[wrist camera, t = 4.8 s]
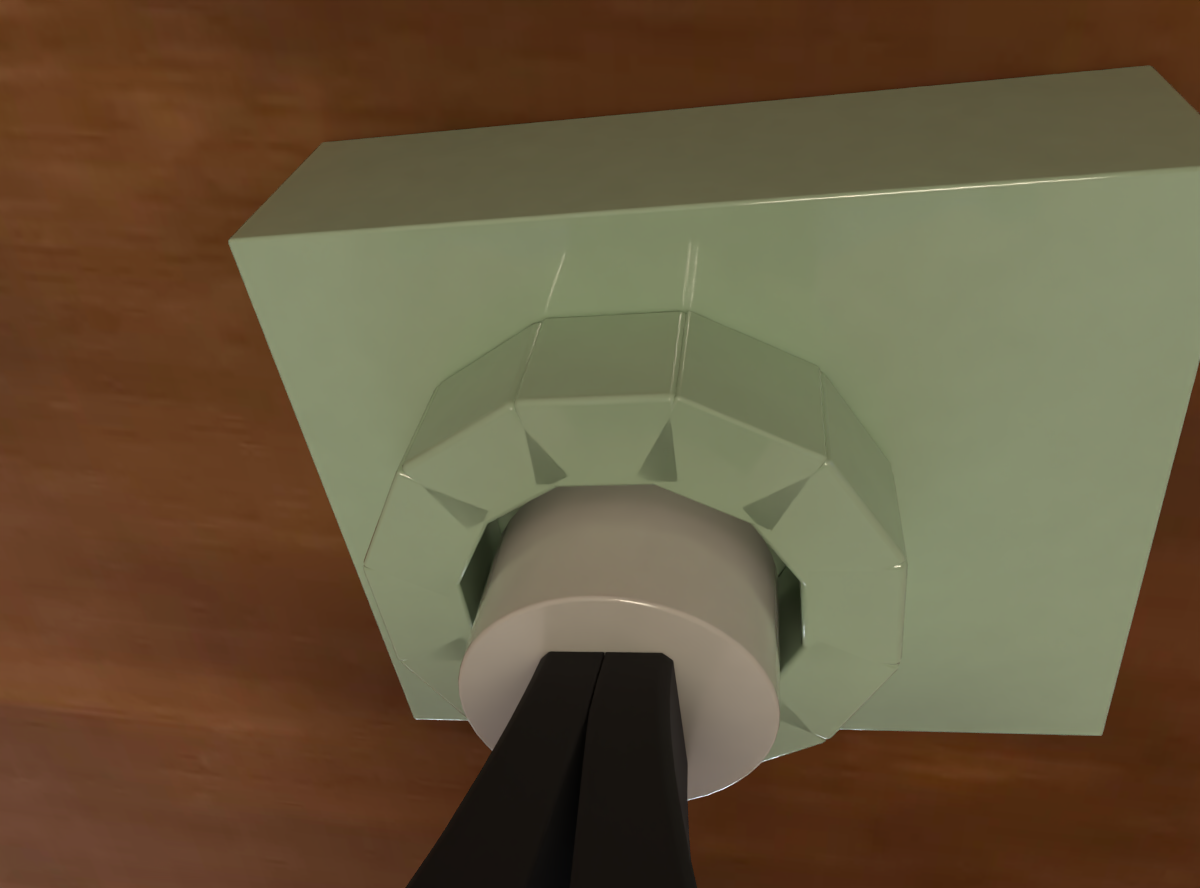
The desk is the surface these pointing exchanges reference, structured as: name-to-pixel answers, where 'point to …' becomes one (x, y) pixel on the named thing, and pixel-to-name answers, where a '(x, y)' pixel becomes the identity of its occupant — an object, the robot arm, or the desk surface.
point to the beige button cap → (636, 615)
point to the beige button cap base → (770, 370)
